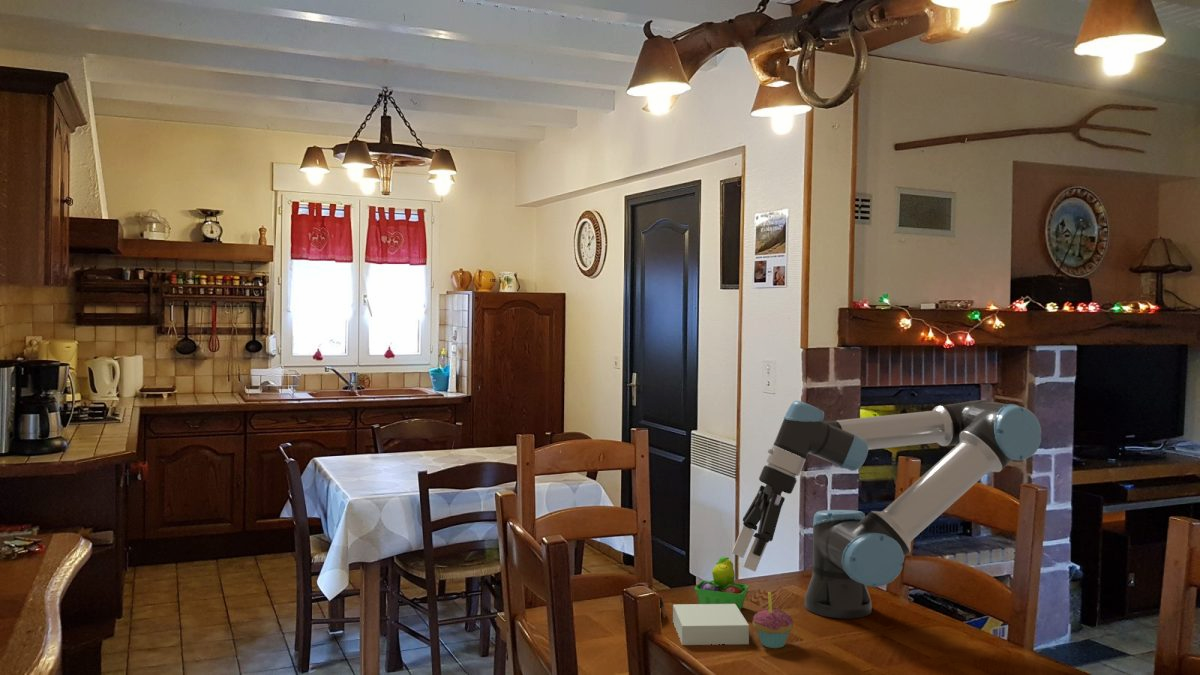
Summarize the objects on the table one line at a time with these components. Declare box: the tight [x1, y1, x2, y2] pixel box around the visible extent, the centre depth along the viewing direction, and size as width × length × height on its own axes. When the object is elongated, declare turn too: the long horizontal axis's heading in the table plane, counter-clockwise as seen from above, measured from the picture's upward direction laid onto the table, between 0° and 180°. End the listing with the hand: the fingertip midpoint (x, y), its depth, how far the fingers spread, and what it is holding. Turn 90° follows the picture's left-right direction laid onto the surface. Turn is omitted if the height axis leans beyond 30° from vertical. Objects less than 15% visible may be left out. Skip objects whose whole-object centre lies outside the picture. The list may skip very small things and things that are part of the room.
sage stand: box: [672, 603, 750, 646], centre depth 196 cm, size 14×14×4 cm
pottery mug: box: [620, 581, 667, 619], centre depth 208 cm, size 12×10×8 cm
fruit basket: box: [694, 556, 749, 611], centre depth 213 cm, size 11×9×11 cm
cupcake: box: [752, 589, 794, 649], centre depth 189 cm, size 9×8×12 cm
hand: (742, 562), depth 195 cm, fingers open, 13 cm apart
